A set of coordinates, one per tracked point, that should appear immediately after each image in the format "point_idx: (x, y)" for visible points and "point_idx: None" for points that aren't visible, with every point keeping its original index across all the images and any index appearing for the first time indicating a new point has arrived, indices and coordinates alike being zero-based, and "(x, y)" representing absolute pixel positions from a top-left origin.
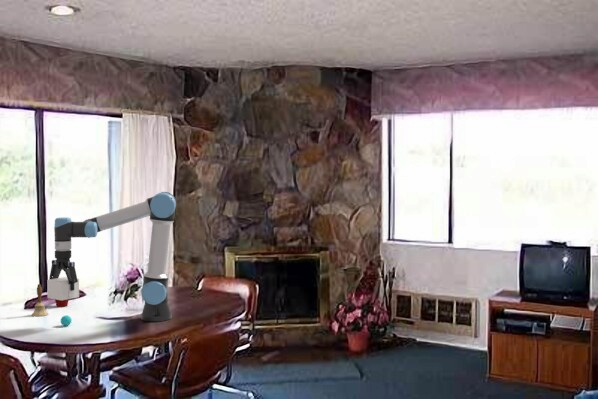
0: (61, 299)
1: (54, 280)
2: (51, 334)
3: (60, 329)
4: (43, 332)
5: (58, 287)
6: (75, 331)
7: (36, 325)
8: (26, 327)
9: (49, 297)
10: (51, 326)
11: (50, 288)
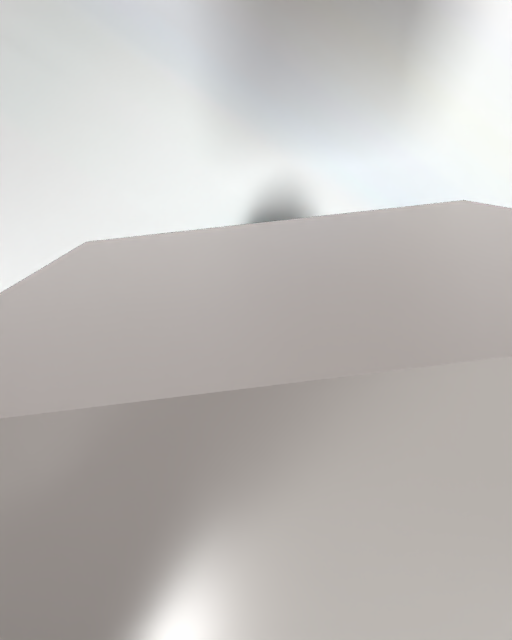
0: (83, 244)
1: (477, 420)
2: (70, 35)
3: (188, 202)
4: (194, 31)
5: (112, 298)
6: (37, 243)
7: (465, 150)
8: (479, 43)
9: (418, 207)
10: (335, 213)
11: (480, 239)
